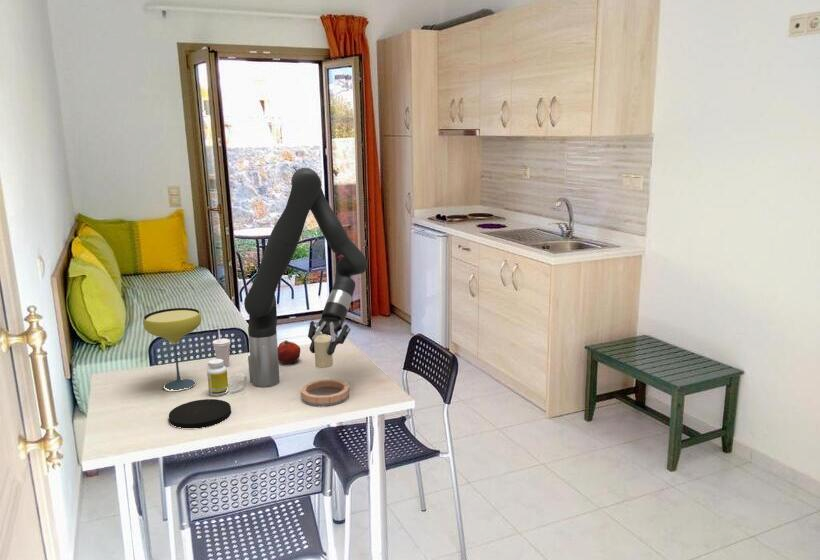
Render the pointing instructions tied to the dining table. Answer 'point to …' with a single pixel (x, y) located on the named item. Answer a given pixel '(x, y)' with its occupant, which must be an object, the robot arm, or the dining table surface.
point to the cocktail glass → (173, 333)
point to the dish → (325, 392)
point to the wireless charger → (200, 413)
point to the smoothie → (222, 349)
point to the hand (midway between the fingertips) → (320, 353)
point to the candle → (322, 351)
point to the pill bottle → (217, 377)
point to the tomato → (288, 352)
